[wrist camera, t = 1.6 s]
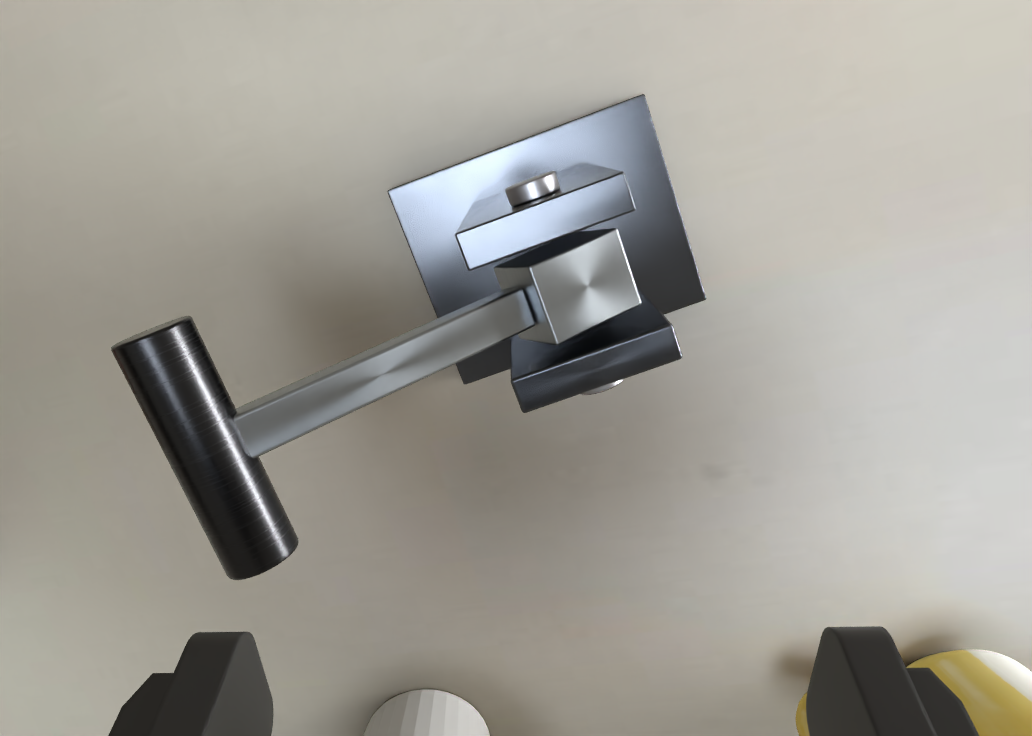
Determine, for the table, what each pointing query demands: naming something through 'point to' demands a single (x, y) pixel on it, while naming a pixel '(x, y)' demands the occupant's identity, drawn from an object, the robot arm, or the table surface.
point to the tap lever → (345, 385)
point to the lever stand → (545, 218)
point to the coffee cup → (426, 716)
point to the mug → (977, 690)
